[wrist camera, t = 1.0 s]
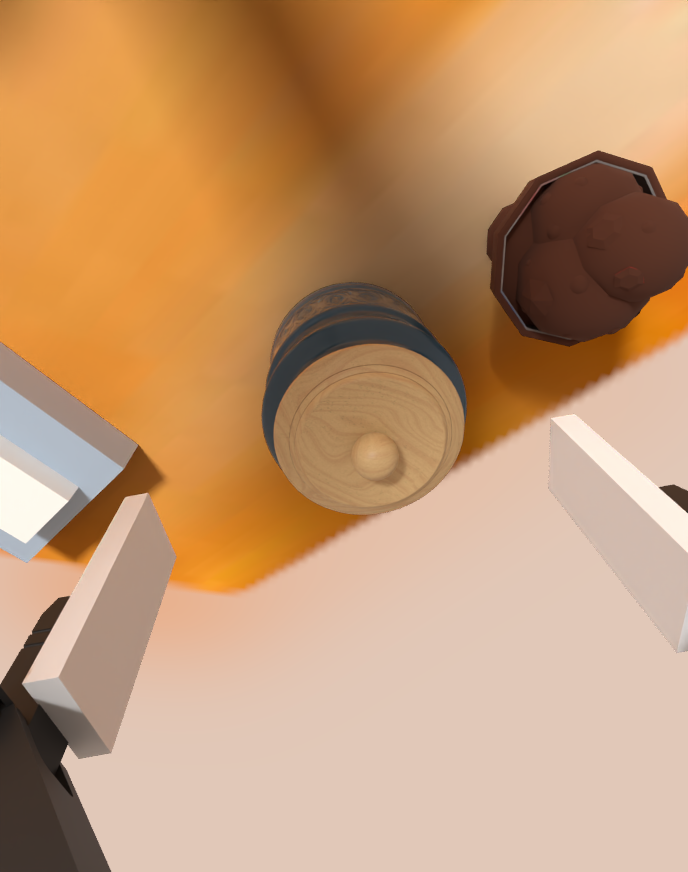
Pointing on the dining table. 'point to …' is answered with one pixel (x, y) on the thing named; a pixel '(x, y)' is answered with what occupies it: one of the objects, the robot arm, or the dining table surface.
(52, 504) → the white rectangular block
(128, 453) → the block
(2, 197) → the dining table surface
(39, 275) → the dining table surface
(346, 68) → the dining table surface
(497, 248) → the ice cream bowl
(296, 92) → the dining table surface
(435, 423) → the canister
